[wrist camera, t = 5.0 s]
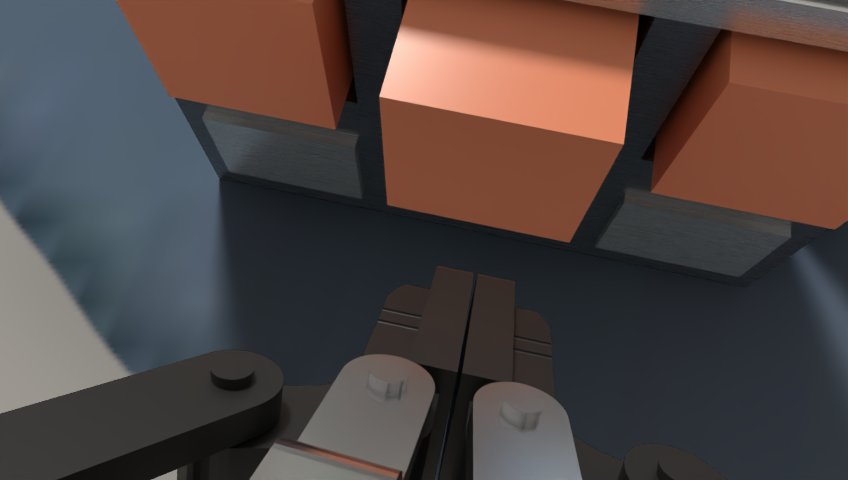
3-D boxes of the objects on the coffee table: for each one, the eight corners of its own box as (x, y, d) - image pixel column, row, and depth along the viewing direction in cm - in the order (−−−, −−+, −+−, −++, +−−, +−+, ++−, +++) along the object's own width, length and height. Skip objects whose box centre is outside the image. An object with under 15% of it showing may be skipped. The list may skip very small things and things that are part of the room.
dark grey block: (750, 153, 28) (1042, -168, 15) (746, 294, 25) (1090, 54, 13) (265, 59, 29) (149, -308, 16) (216, 184, 27) (36, -132, 14)
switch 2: (591, 91, 20) (645, -41, 15) (569, 242, 18) (623, 144, 13) (426, 59, 20) (431, -79, 16) (387, 205, 18) (379, 96, 14)
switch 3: (831, 81, 20) (955, -51, 16) (834, 229, 18) (977, 129, 14) (664, 50, 20) (737, -88, 16) (650, 192, 19) (729, 82, 14)
